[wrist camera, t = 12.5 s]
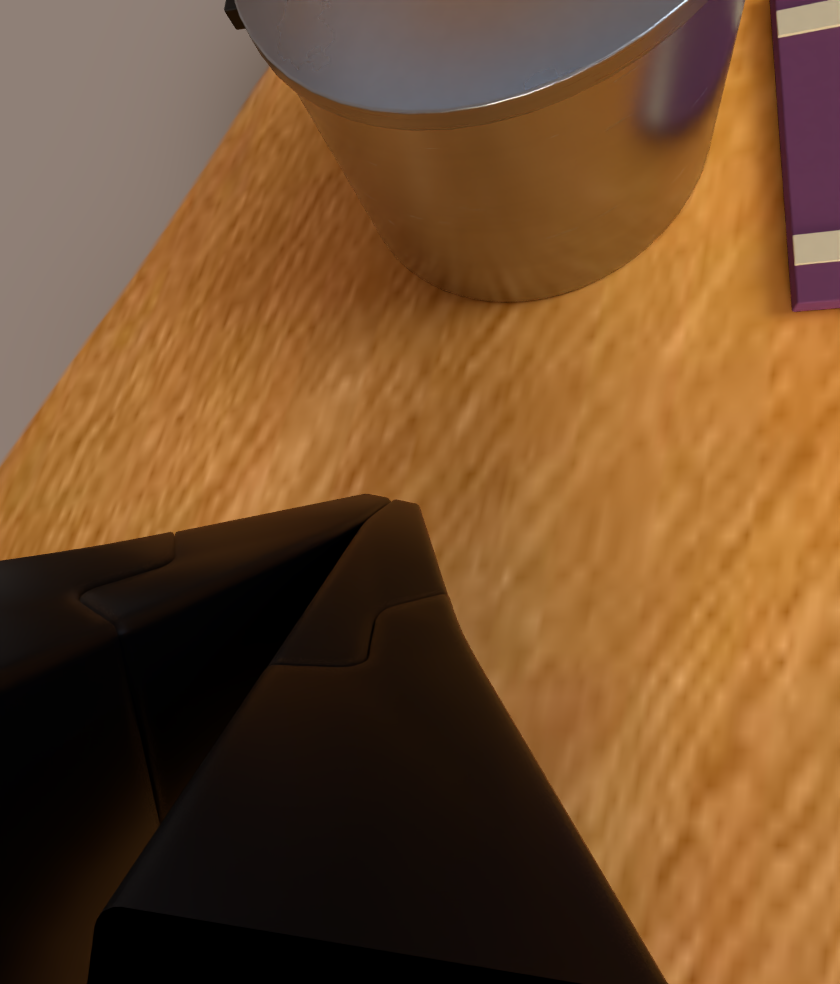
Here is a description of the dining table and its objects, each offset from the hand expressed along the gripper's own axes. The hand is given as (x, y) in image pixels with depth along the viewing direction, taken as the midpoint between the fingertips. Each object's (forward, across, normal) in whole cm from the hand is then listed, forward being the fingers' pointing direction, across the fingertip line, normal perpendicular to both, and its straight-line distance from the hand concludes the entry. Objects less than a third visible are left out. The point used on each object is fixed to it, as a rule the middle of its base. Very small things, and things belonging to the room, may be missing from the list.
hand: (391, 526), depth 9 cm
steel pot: (+20, -1, +5) cm, 20 cm away
